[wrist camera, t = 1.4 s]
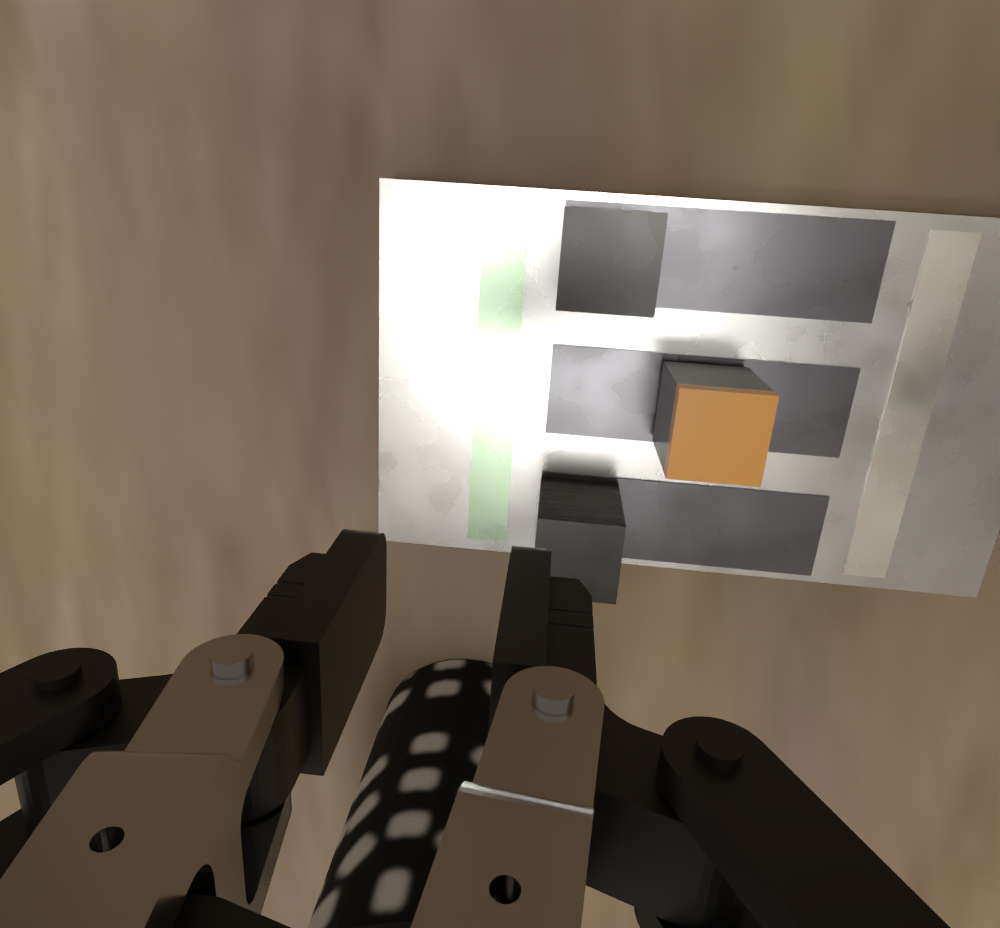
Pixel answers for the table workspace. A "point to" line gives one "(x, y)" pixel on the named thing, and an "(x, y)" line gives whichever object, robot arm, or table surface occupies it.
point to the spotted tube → (407, 795)
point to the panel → (691, 339)
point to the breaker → (713, 423)
